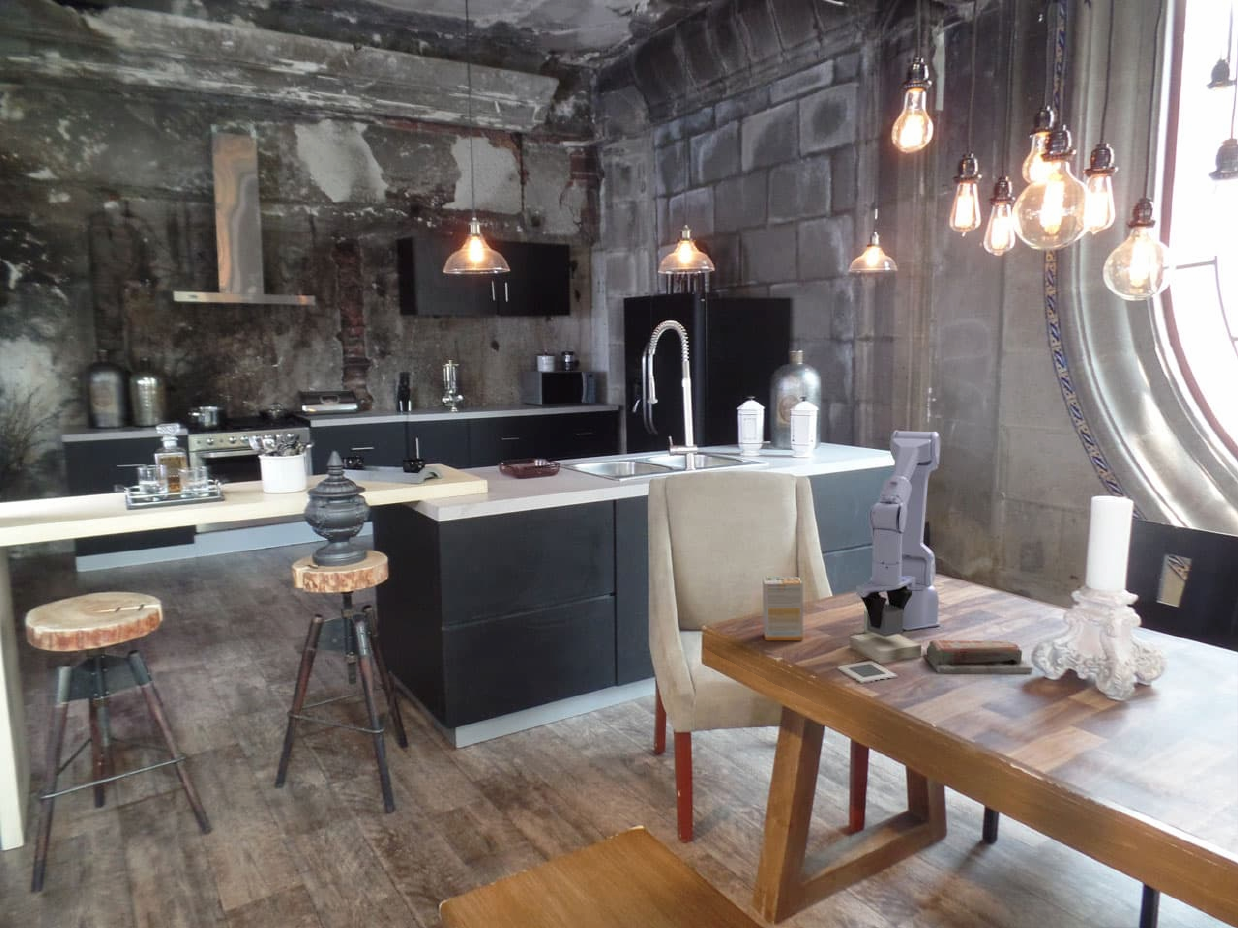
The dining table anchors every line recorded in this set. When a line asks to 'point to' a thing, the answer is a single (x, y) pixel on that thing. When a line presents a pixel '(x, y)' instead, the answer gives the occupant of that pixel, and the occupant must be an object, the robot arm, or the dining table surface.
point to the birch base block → (885, 647)
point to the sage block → (866, 622)
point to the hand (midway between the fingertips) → (885, 624)
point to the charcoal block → (888, 622)
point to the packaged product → (976, 657)
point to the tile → (866, 671)
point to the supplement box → (783, 608)
